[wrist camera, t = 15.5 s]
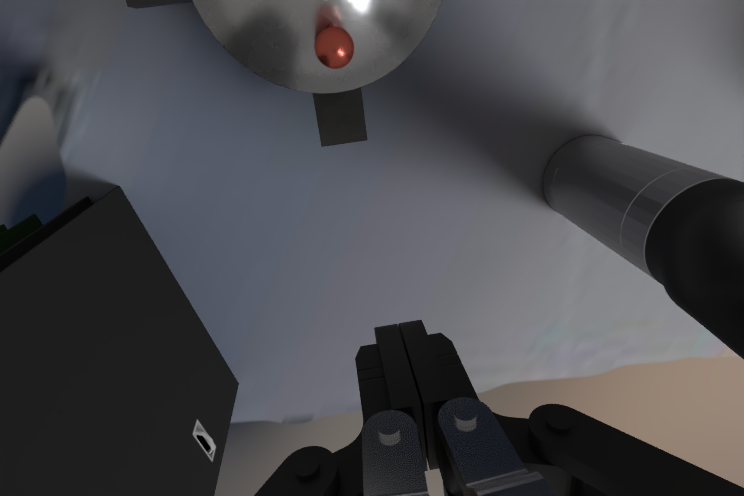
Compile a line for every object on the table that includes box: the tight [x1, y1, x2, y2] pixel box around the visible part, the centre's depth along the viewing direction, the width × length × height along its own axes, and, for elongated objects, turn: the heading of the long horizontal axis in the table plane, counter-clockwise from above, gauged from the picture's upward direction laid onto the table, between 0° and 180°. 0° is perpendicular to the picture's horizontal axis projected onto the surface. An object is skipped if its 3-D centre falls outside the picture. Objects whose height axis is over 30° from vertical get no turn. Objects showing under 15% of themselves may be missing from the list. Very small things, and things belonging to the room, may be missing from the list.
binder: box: [0, 186, 239, 496], centre depth 37 cm, size 27×15×32 cm, turn 17°
